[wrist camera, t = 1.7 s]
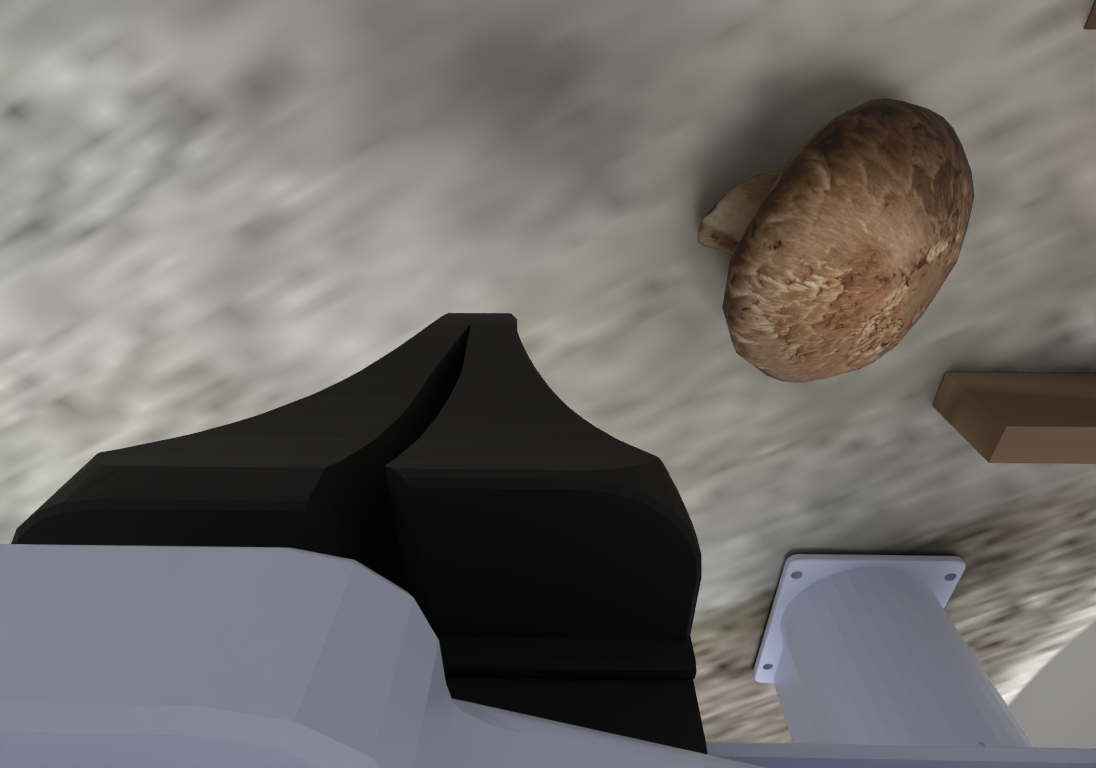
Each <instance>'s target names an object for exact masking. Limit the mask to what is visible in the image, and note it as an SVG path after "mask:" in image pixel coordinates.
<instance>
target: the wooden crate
mask: <svg viewBox="0 0 1096 768" xmlns="http://www.w3.org/2000/svg"><path fill="white" fill-rule="evenodd" d="M1085 29H1096V2H1095V4H1094V7H1093V9H1092V12H1091V14H1090V17H1089V19H1088V22H1087V24H1086V27H1085ZM932 406H933V407H934V408H935V409H936V410H937V411H938V412H939V413H940V414H941V415H942V416H943V417H944V418H945V419H946V420H947V421H948V422H949V423H950V424H951V425H952V426H953V427H954V428H955V429H956V430H957V431H958V432H959V433H960V434H961V435H962V436H963V437H964V438H965V439H966V440H967V441H968V442H969V443H970V444H971V445H972V446H973V447H974V448H975V449H976V450H977V451H978V452H979V453H980V454H981V455H982V456H983V457H984V458H985V459H986V460H987V461H988V462H989V463H1076V464H1096V373H985V372H946V373H945V376H944V378H943V381H942V383H941V386H940V388H939V391H938V393H937V396H936V398H935V401H934V403H933V405H932Z"/></svg>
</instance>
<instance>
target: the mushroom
mask: <svg viewBox="0 0 1096 768" xmlns="http://www.w3.org/2000/svg"><path fill="white" fill-rule="evenodd" d="M973 200H974V189H973V181H972V173H971V169H970V166H969V164H968V161H967V158H966V155H965V152H964V149H963V147H962V144H961V142H960V140H959V138H958V136H957V134H956V132H955V131H954V129H953V128H952V126H951V125H950V124H949V123H948V122H947V121H946V120H945V119H944V118H943V117H942V116H940V115H938V114H936V113H935V112H933V111H931V110H929V109H927V108H923V107H920V106H916V105H913V104H910V103H906V102H903V101H897V100H891V99H877V100H870V101H868V102H866V103H864V104H862V105H860V106H858V107H856V108H854V109H852V110H850V111H847V112H845V113H843V114H841V115H839V116H837V117H836V118H834V119H833V120H831V121H830V122H828V123H827V124H825V125H824V126H823V127H822V128H821V129H820V130H819V131H818V132H817V133H816V134H815V135H814V136H813V137H812V138H811V139H810V140H809V141H808V142H807V143H806V144H805V145H804V146H803V147H802V148H801V149H800V150H799V151H798V152H797V153H796V154H795V155H794V156H793V157H792V158H791V159H790V161H789V162H788V164H787V165H786V167H785V168H784V170H783V171H782V172H777V171H775V172H771V173H767V174H763V175H758V176H756V177H754V178H752V179H750V180H748V181H745V182H743V183H741V184H739V185H737V186H736V187H734V188H733V189H732V190H731V191H730V192H729V193H727V194H726V195H725V196H724V197H723V198H722V199H721V200H719V201H718V202H717V203H716V204H715V206H714V207H713V208H712V209H711V210H710V211H709V212H708V213H707V214H706V216H705V217H704V218H703V220H702V222H701V225H700V227H699V230H698V242H699V243H701V244H702V245H704V246H706V247H710V248H715V249H719V250H722V251H725V252H727V253H729V254H731V255H732V257H731V259H730V265H729V271H728V277H727V283H726V289H725V295H724V302H723V310H724V314H725V318H726V321H727V325H728V329H729V333H730V336H731V340H732V342H733V345H734V348H735V350H736V353H737V354H739V355H740V356H741V357H743V358H744V359H745V360H747V361H748V362H749V363H751V364H752V365H754V366H755V367H756V368H758V369H759V370H760V371H762V372H763V373H764V374H766V375H767V376H770V377H773V378H775V379H778V380H780V381H783V382H808V381H814V380H819V379H824V378H828V377H831V376H835V375H839V374H843V373H847V372H851V371H854V370H858V369H860V368H862V367H864V366H866V365H868V364H871V363H873V362H874V361H876V360H877V359H879V358H880V357H881V356H883V355H884V354H885V353H887V352H888V351H890V350H891V349H892V348H894V347H895V346H896V345H897V344H898V343H899V342H900V340H901V339H902V338H903V337H904V336H905V335H906V333H907V332H908V331H909V330H910V329H911V328H912V326H913V325H914V324H915V323H916V322H917V321H918V319H919V318H920V317H921V316H922V314H923V313H924V312H925V310H926V309H927V307H928V306H929V305H930V303H931V302H932V300H933V299H934V297H935V295H936V294H937V292H938V291H939V289H940V288H941V286H942V284H943V283H944V281H945V280H946V278H947V276H948V275H949V273H950V272H951V270H952V269H953V267H954V265H955V264H956V262H957V259H958V256H959V253H960V250H961V247H962V243H963V240H964V237H965V234H966V230H967V227H968V222H969V218H970V213H971V209H972V204H973Z"/></svg>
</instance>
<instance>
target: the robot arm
mask: <svg viewBox="0 0 1096 768" xmlns="http://www.w3.org/2000/svg"><path fill="white" fill-rule="evenodd" d="M965 567H966V566H965V563H964V562H963V561H962V559H961V558H959V557H957V556H912V555H831V554H795V555H792V556H790V557H789V558H788V559H787V560H786V562H785V566H784V569H783V572H782V576H781V579H780V582H779V586H778V589H777V593H776V596H775V599H774V603H773V606H772V609H771V613H770V616H769V620H768V623H767V626H766V630H765V633H764V636H763V640H762V643H761V646H760V650H759V653H758V657H757V660H756V663H755V667H754V670H753V675H754V679H755V680H756V681H757V682H759V683H774V686H775V689H776V692H777V695H778V698H779V701H780V704H781V707H782V710H783V713H784V717H785V720H786V723H787V726H788V729H789V732H790V735H791V738H792V741H793V743H750V742H706V741H705V736H704V731H703V726H702V722H701V717H700V712H699V707H698V702H697V697H696V692H695V687H694V682H693V679H695V675H696V661H695V656H694V651H693V646H692V642H691V637H690V633H691V628H692V623H693V618H694V613H695V607H696V602H697V597H698V592H699V587H700V582H701V551H700V548H699V544H698V539H697V536H696V533H695V530H694V527H693V524H692V522H691V519H690V517H689V515H688V512H687V510H686V508H685V505H684V503H683V501H682V499H681V497H680V495H679V492H678V490H677V488H676V486H675V484H674V483H673V481H672V479H671V477H670V475H669V473H668V471H667V469H666V468H665V466H664V464H663V462H662V461H661V460H660V458H659V457H657V456H654V455H652V454H650V453H647V452H645V451H643V450H640V449H638V448H636V447H634V446H631V445H629V444H627V443H624V442H622V441H620V440H618V439H616V438H614V437H612V436H610V435H609V434H607V433H605V432H603V431H602V430H600V429H598V428H597V427H595V426H593V425H592V424H590V423H589V422H587V421H586V420H584V419H583V418H582V417H580V416H579V415H578V414H577V413H575V412H574V411H573V410H572V409H570V408H569V407H568V406H567V405H566V404H565V403H564V402H563V401H562V400H561V399H560V398H559V397H558V396H557V395H556V394H555V393H554V392H553V391H552V390H551V388H550V387H549V386H548V385H547V383H546V382H545V381H544V380H543V378H542V377H541V375H540V374H539V372H538V371H537V370H536V368H535V367H534V365H533V363H532V362H531V360H530V358H529V356H528V354H527V353H526V351H525V349H524V347H523V345H522V342H521V340H520V338H519V335H518V332H517V319H516V318H515V317H514V316H513V315H512V314H511V313H448V314H446V315H444V316H442V317H440V318H439V319H437V320H436V321H435V322H433V323H432V324H430V325H429V326H428V327H426V328H425V329H423V330H422V331H421V332H419V333H418V334H416V335H415V336H414V337H412V338H411V339H409V340H408V341H406V342H405V343H404V344H402V345H401V346H399V347H398V348H396V349H395V350H393V351H392V352H390V353H389V354H387V355H385V356H384V357H382V358H381V359H379V360H377V361H376V362H374V363H372V364H371V365H369V366H368V367H366V368H364V369H363V370H361V371H359V372H358V373H356V374H354V375H352V376H350V377H348V378H346V379H344V380H343V381H341V382H339V383H336V384H334V385H332V386H330V387H328V388H326V389H324V390H322V391H320V392H317V393H315V394H313V395H310V396H308V397H305V398H303V399H300V400H297V401H295V402H292V403H290V404H287V405H284V406H282V407H279V408H276V409H274V410H271V411H268V412H266V413H263V414H260V415H257V416H254V417H251V418H247V419H244V420H241V421H238V422H234V423H231V424H228V425H224V426H220V427H216V428H213V429H209V430H205V431H202V432H198V433H194V434H189V435H185V436H181V437H176V438H172V439H167V440H162V441H157V442H152V443H147V444H142V445H137V446H132V447H127V448H122V449H117V450H112V451H106V452H100V453H98V454H97V455H95V456H94V457H93V458H92V459H91V460H90V461H89V462H88V463H87V464H86V465H85V466H84V467H83V468H81V469H80V470H79V471H78V472H77V473H76V474H75V475H74V476H73V477H72V478H71V479H70V480H69V481H68V482H66V483H65V484H64V485H63V486H62V487H61V488H60V489H59V490H58V491H57V492H56V493H55V494H54V495H52V496H51V497H50V498H49V499H48V500H47V501H46V502H45V503H44V504H43V505H42V506H41V507H40V508H39V509H37V510H36V511H35V512H34V513H33V514H32V515H31V516H30V517H29V518H28V519H27V520H26V521H25V522H24V523H22V524H21V525H20V526H19V527H18V528H17V530H16V532H15V535H14V538H13V540H12V543H11V544H0V768H1096V749H1078V748H1076V749H1075V748H1035V747H1034V745H1033V744H1032V742H1031V741H1030V739H1029V738H1028V736H1027V735H1026V733H1025V732H1024V730H1023V729H1022V727H1021V726H1020V724H1019V723H1018V721H1017V719H1016V718H1015V716H1014V715H1013V713H1012V712H1011V710H1010V709H1009V707H1008V706H1007V704H1006V703H1005V701H1004V700H1003V698H1002V697H1001V695H1000V694H999V692H998V691H997V689H996V688H995V686H994V685H993V683H992V682H991V680H990V679H989V677H988V676H987V674H986V672H985V671H984V669H983V668H982V666H981V665H980V663H979V662H978V660H977V659H976V657H975V656H974V654H973V653H972V651H971V650H970V648H969V647H968V645H967V644H966V642H965V641H964V639H963V638H962V636H961V635H960V633H959V632H958V630H957V629H956V627H955V626H954V624H953V622H952V621H951V619H950V618H949V616H948V615H947V613H946V612H945V610H944V608H945V606H946V604H947V602H948V600H949V598H950V596H951V594H952V593H953V591H954V589H955V587H956V585H957V583H958V581H959V579H960V578H961V576H962V574H963V572H964V570H965Z"/></svg>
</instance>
